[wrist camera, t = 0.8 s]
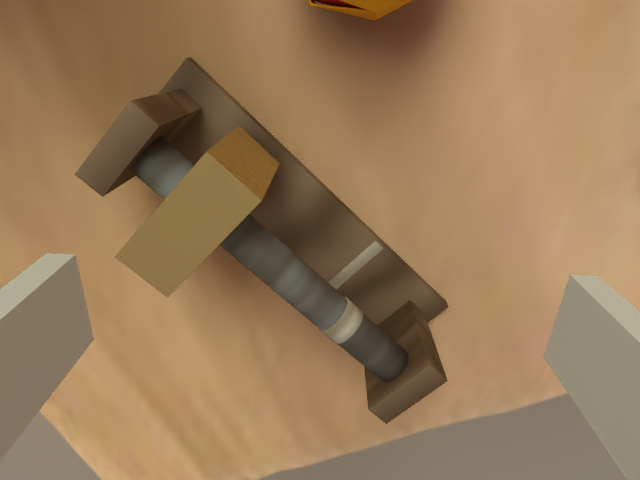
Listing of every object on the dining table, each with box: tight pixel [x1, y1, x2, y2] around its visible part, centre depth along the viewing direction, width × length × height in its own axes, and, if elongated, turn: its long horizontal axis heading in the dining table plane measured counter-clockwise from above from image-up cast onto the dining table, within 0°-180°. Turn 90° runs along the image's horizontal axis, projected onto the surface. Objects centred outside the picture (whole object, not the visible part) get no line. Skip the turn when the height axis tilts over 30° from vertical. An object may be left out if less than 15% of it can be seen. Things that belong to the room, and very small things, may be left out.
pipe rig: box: [75, 58, 448, 424], centre depth 34 cm, size 30×10×10 cm, turn 46°
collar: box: [115, 126, 280, 297], centre depth 30 cm, size 4×9×9 cm, turn 136°
